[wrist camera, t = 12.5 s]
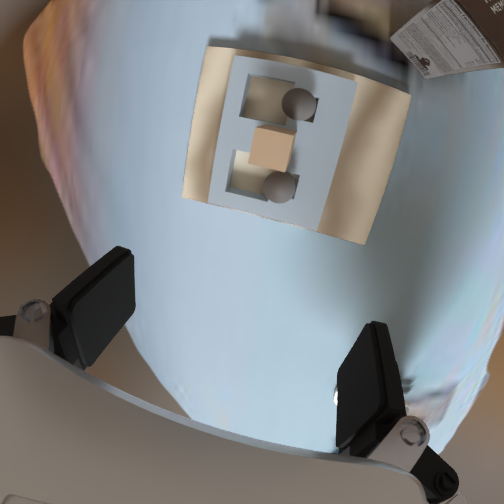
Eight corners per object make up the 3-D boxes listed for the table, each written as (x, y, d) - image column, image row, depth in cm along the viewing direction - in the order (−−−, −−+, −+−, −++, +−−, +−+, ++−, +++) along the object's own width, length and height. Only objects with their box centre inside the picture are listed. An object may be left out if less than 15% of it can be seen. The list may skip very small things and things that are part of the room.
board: (408, 95, 24) (427, 93, 19) (362, 241, 33) (370, 264, 28) (210, 48, 25) (191, 37, 21) (186, 194, 34) (165, 209, 29)
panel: (354, 84, 24) (370, 74, 17) (316, 224, 32) (317, 258, 25) (239, 58, 25) (215, 42, 18) (213, 197, 32) (186, 223, 26)
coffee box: (433, 4, 17) (502, -43, 3) (469, 47, 18) (555, 28, 4) (386, 38, 21) (446, -14, 7) (425, 83, 23) (511, 71, 9)
